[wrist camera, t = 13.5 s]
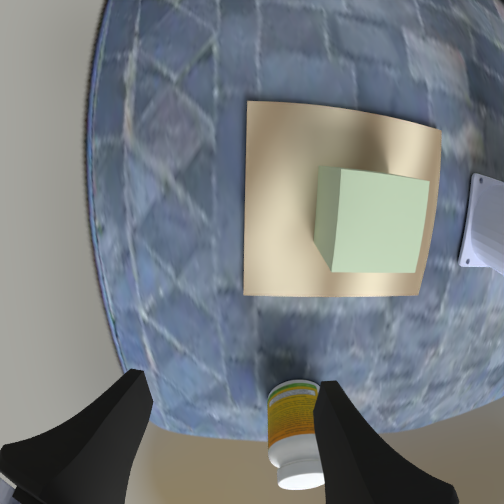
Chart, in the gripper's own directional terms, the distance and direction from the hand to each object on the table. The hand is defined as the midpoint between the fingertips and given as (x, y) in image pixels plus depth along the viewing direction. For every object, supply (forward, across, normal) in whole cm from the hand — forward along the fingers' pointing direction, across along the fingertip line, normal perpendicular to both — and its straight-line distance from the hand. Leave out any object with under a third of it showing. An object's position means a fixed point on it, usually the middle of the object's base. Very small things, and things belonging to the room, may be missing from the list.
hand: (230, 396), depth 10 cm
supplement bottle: (+11, -5, +12) cm, 17 cm away
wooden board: (+10, -7, -6) cm, 14 cm away
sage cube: (+10, -7, -6) cm, 14 cm away
